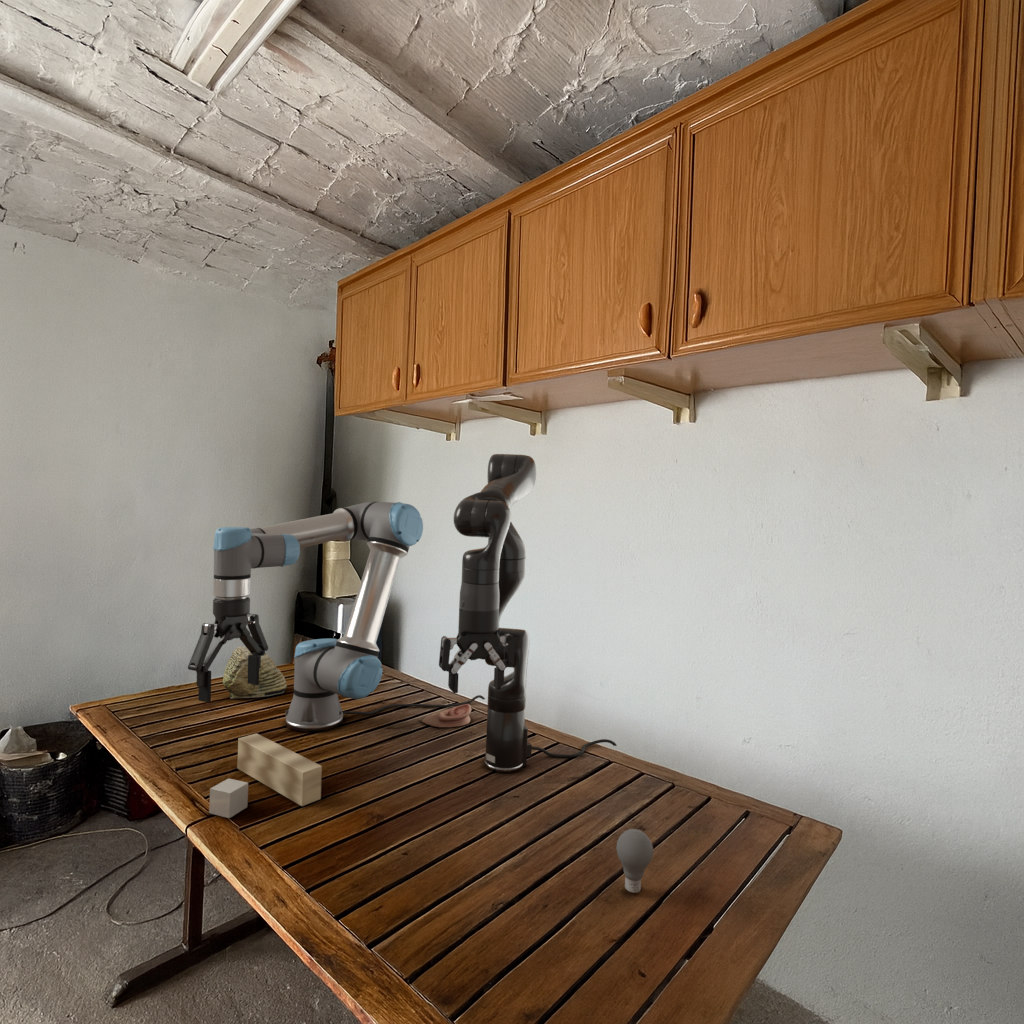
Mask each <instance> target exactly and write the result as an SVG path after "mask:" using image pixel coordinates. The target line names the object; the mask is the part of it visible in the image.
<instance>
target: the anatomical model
mask: <svg viewBox="0 0 1024 1024" xmlns="http://www.w3.org/2000/svg"><path fill="white" fill-rule="evenodd" d="M471 713H472V706H471V705H470V703H469V704H464V705H460V706H453V707H449V708H448V709H445V710H442V711H439V712H435V713H432V714H429V715H428V716H425V717H424V718H423V719H421V722H422V723H424V724H426V725H429V726H431V727H436V728H455V727H461V726H465V725H468V724H469V723H470V722H471V716H470V715H471Z"/></svg>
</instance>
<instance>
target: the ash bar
mask: <svg viewBox="0 0 1024 1024" xmlns="http://www.w3.org/2000/svg"><path fill="white" fill-rule="evenodd" d="M236 763H237V766H236V769H237V770H239V771H241V772H242V773H244V774H246V775H248V776H249V777H250V778H253V779H254V780H256V781H258V782H259V783H261V784H263V785H264V786H266V787H267V788H270V789H272V790H273V791H275V792H277V793H278V794H280V795H282V796H283V797H285V798H287V799H289V800H290V801H292V802H294V803H295V804H297V805H299V806H300V807H304V806H306V805H309V804H311V803H314V802H316V801H319V800H321V799H322V798H321V797H322V776H323V775H322V773H323V765H321V764H319V763H317V762H315V761H314V760H311V759H309V758H308V757H305V756H303V755H301V754H299V753H296V752H295V751H294V750H293V751H292V750H291V749H289V748H287V747H285V746H283V745H281V744H279V743H277V742H275V741H273V740H271V739H268V738H267V737H265V736H263V735H261V734H259V733H253V734H249V735H245V736H242V737H238V739H237V762H236Z"/></svg>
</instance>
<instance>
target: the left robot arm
mask: <svg viewBox="0 0 1024 1024" xmlns="http://www.w3.org/2000/svg"><path fill="white" fill-rule="evenodd" d="M423 531H424V522H423V518H422V517H421V513H420V511H419V510H418V508H416V507H415V506H414V505H412V504H410V503H403V502H400V501H399V502H398V501H397V502H391V501H388V502H387V501H366V502H362V503H357V504H353V505H349V506H345V507H339V508H336V509H335V510H334V511H333V512H332V513H328V514H323V515H317V516H312V517H307V518H302V519H301V518H300V519H297V520H292V521H286V522H281V523H276V524H271V525H266V526H260V527H256V528H250V527H245V526H221V527H218V528H217V529H216V530H215V533H214V539H213V548H212V549H213V591H212V592H213V593H212V595H213V596H214V598H213V600H212V615H213V617H214V618H215V619H214V622H213V623H207V622H203V623H202V624H201V631H200V635H199V638H198V640H197V643H196V644H195V647H194V650H193V653H192V655H191V657H190V660H189V662H188V665H187V669H188V670H189V671H194V672H196V683H195V685H196V687H198V697H197V698H198V701H200V702H204V703H211V701H212V670H209V669H210V667H211V666H212V664H213V662H214V661H215V659H216V657H218V654H219V653H220V651H221V649H222V647H223V645H226V644H227V642H228V641H232V640H234V639H239V640H240V641H241V642H242V644H243V645H244V647H247V649H248V650H249V651H250V653H251V654H252V655H248V681H247V683H248V684H254V685H258V684H259V669H260V667H261V656H264V655H265V653H266V652H268V651H269V645H268V643H267V640H266V638H265V635H264V632H263V630H262V627H261V625H260V618H259V617H260V616H259V614H256V613H250V612H251V598H250V597H249V596H250V595H251V579H252V577H251V575H252V570H253V569H260V568H261V569H262V568H277V567H282V568H283V567H286V566H292V565H294V564H295V563H296V562H297V561H298V560H299V559H300V554H301V552H300V549H303V548H304V549H305V548H308V547H313V546H316V545H320V544H325V543H329V542H334V541H337V540H339V541H340V542H344V543H345V542H349V541H366V545H367V547H368V548H369V550H370V551H369V554H368V557H367V559H366V564H365V568H364V571H363V574H362V577H361V580H360V583H359V587H358V590H357V593H356V597H355V599H354V603H353V605H352V609H351V613H350V617H349V620H348V622H347V626H346V629H345V633H344V635H342V636H341V637H340V638H338V639H337V638H331V637H329V638H317V639H316V638H315V639H308V640H304V641H300V642H299V643H298V644H297V645H296V646H295V650H294V651H295V652H294V655H293V658H294V672H293V695H292V696H293V697H292V699H291V702H290V704H289V708H288V709H285V713H284V714H285V715H284V716H285V726H286V728H287V729H289V730H291V731H294V732H295V731H296V732H301V733H316V732H325V731H329V730H332V729H335V728H337V727H339V726H340V725H342V723H343V722H344V715H362V716H366V715H367V716H369V715H374V714H376V713H379V712H381V711H383V710H385V709H389V708H390V709H391V708H398V707H401V708H403V707H404V708H405V707H406V708H407V707H408V708H411V707H412V708H417V707H419V708H420V707H422V708H453V707H456V706H460V705H464V704H469V705H470V703H472V702H474V701H475V700H477V699H481V700H486V698H485V697H484V696H483V695H480V694H478V695H476V696H474V697H472V698H471V699H469V700H467V701H462V702H457V703H456V702H455V703H449V704H446V703H445V704H429V703H428V704H427V703H396V704H394V703H393V704H388V705H384V706H381V707H379V708H376V709H375V710H371V711H355V710H350V711H349V710H347V711H346V710H343V709H342V706H341V702H340V699H339V695H340V696H341V697H343V698H348V699H353V700H360V699H365V698H367V697H368V696H369V695H370V694H372V693H373V692H374V691H375V690H376V688H377V687H378V686H379V685H380V682H381V680H382V677H383V666H382V662H381V660H380V659H379V654H380V648H379V647H378V645H377V641H378V637H379V634H380V631H381V628H382V623H383V620H384V617H385V613H386V609H387V606H388V603H389V599H390V596H391V593H392V589H393V586H394V582H395V578H396V575H397V571H398V569H399V565H400V561H401V559H402V558H404V557H406V556H408V553H409V550H410V547H412V546H414V545H416V544H417V543H419V542H420V540H421V539H422V536H423ZM470 700H471V701H470Z"/></svg>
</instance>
